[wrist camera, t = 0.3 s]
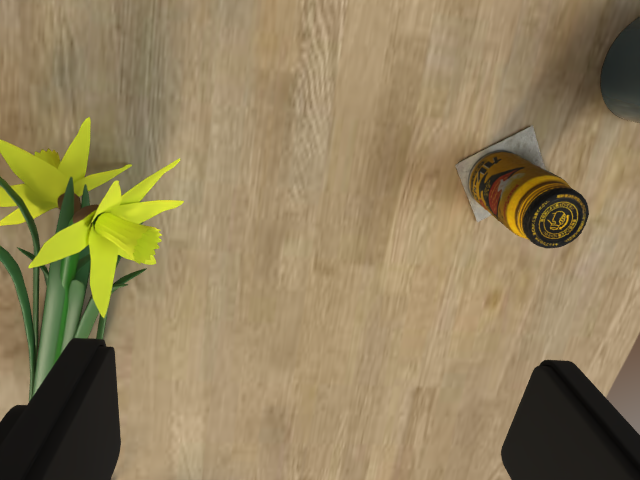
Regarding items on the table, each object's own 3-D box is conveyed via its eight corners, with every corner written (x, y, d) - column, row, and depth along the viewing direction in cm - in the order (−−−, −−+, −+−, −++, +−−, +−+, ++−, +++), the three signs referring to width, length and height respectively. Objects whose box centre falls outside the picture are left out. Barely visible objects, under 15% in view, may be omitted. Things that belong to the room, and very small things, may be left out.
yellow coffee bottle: (454, 164, 46) (509, 205, 35) (531, 124, 45) (612, 155, 34) (476, 221, 49) (533, 275, 38) (549, 185, 48) (629, 230, 37)
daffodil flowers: (-37, 331, 50) (-48, 28, 30) (105, 312, 59) (169, 72, 39) (-28, 483, 41) (-36, 199, 21) (137, 433, 51) (240, 203, 30)
